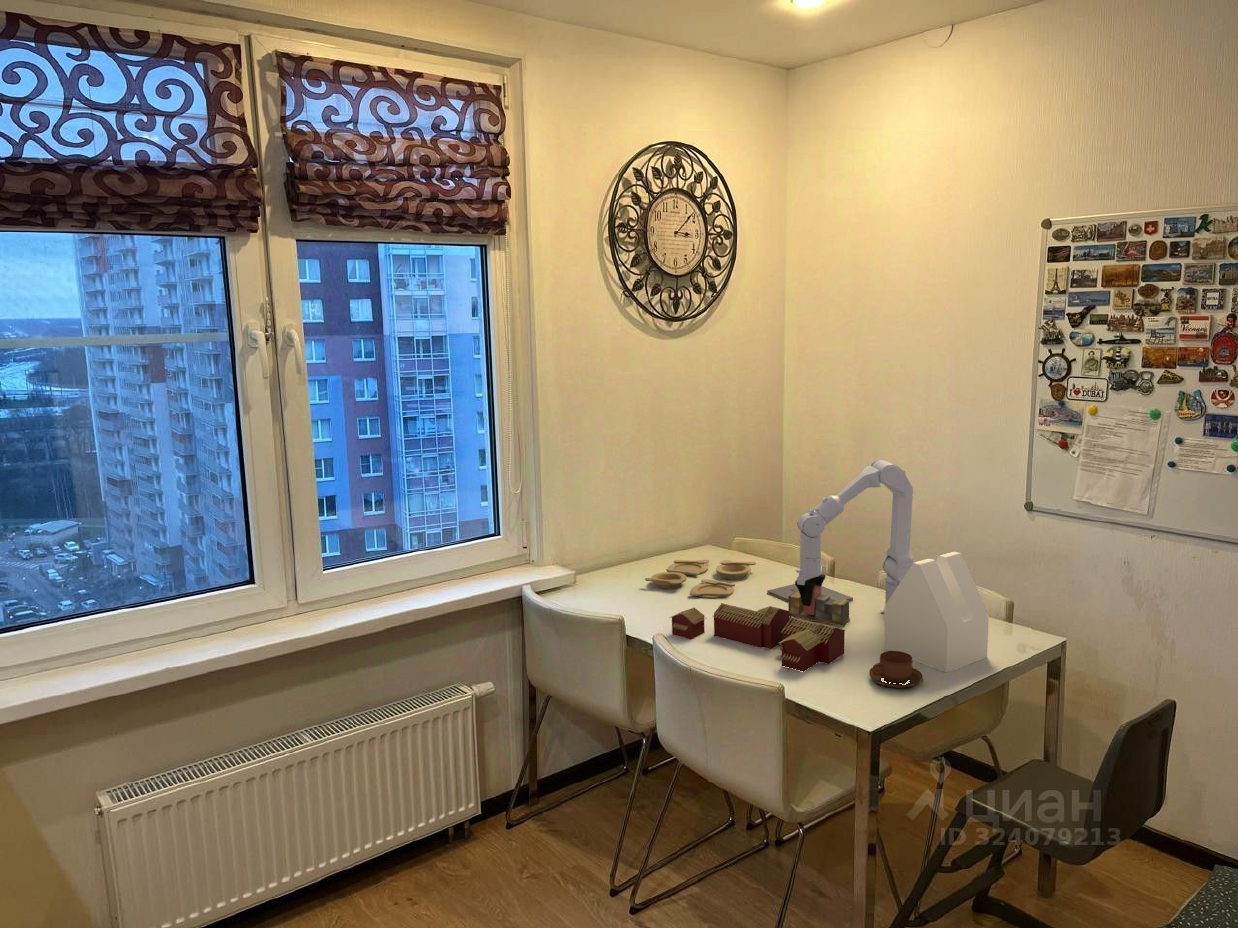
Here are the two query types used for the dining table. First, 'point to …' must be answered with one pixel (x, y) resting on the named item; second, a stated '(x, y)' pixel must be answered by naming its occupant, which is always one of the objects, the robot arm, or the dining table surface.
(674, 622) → the toy houses
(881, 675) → the cup and saucer
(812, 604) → the red rectangular block
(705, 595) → the tableware set
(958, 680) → the dining table surface
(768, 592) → the play button award
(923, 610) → the milk carton
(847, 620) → the rack
